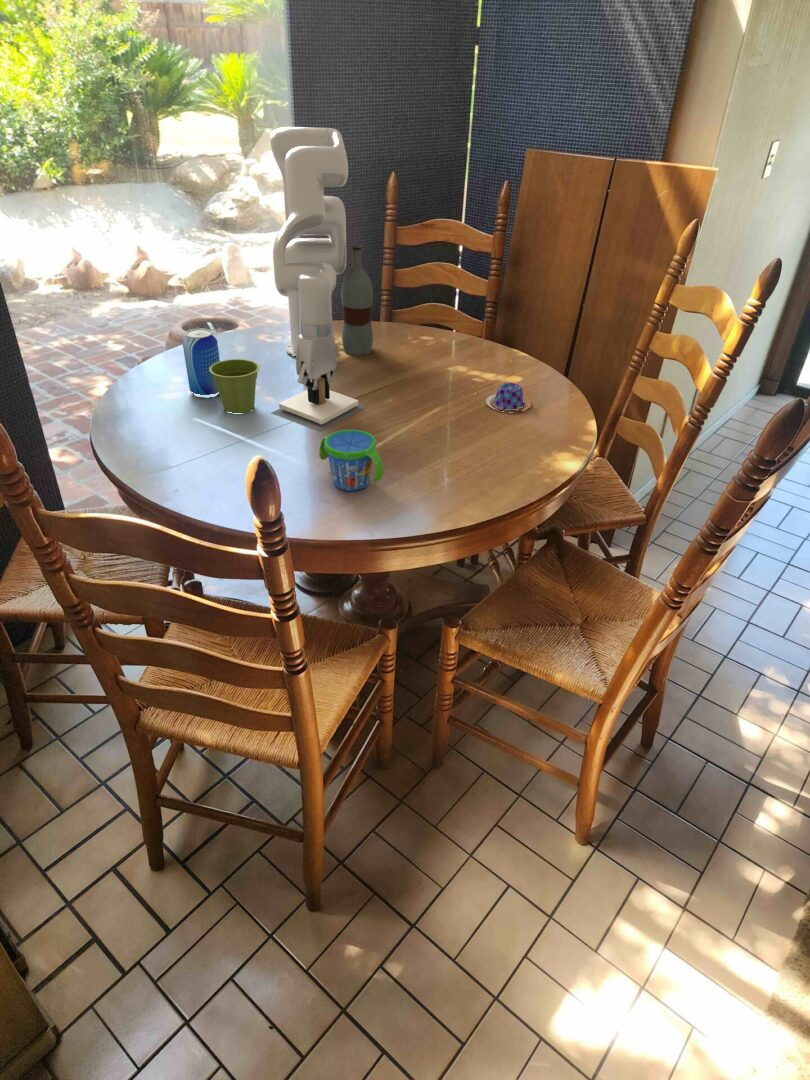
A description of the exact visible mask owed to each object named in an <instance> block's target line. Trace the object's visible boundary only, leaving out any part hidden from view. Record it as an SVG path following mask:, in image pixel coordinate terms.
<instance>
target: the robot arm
mask: <svg viewBox="0 0 810 1080" xmlns="http://www.w3.org/2000/svg"><path fill="white" fill-rule="evenodd" d="M269 139H270V140H269V141H270V148H271V152H272V155H273V158H274V159H275V162H276V164H277V166H278V168H279V171H280V173H281V176H282V183H283V196H284V199H283V200H284V214H285V215H284V216H285V223H284V224H283V225H282V226H281V228H280V229H279V231H278V232H277V235H276V237H275V239H274V242H273V243H274V244H273V248H272V260H273V274H274V275H273V276H274V284H275V288H276V291H277V293H278V294H280V295H281V296H283V297H286V298H288V299H287V300H288V311H289V312H288V313H289V314H288V315H289V328H290V329H289V330H290V331H289V332H290V343H289V344H287V346H285V351H286V350H287V352H288V353H289V354H291V355H294V356H296V357H295V363H296V364H295V368H296V369H295V370H296V375H297V376H298V378H297V383H298V384H300V385H303V386H304V387H305V388H306V389H307V390H308V401H309V402H311V403H314V404H316V405H318V404H319V389H317V377H323V378H324V379H325V399H329V398H330V390H331V389H330V383H331V382H332V376H333V374H334V372H335V370H336V369H337V368H338V364H337V348H336V347H337V346H336V340H335V334H334V330H333V321H334V320H333V309H332V305H333V304H332V294H333V292H334V289H336V287H337V275H341V274H343V273H344V272H345V270H346V267H347V222H346V221H347V218H346V217H347V216H346V209H345V208H346V207H345V204H344V202H343V200H342V199H341V198H340V197H337V196H334V195H333V196H332V195H325V194H324V193H325V192H324V188H341V187H344V186H345V185H346V183H347V182H348V176H349V164H348V157H347V151H346V148H345V143H344V139H343V136H342V133H341V132H340V131H339V130H338V129H336V128H331V127H306V126H305V127H304V126H284V127H278V128H275V129H274V130H273V131H272V132H271V133H270V138H269ZM298 236H328V237H327V238H326V237H322V238H321V237H320V238H319V237H317V238H315V237H302V238H301V237H298ZM297 237H298V238H297ZM287 352H286V353H287ZM288 353H287V354H288ZM289 354H288V355H289ZM291 355H290V356H291Z"/></svg>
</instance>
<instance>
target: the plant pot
mask: <svg viewBox="0 0 810 1080" xmlns="http://www.w3.org/2000/svg"><path fill="white" fill-rule="evenodd" d="M260 367H261V366H260V365H259V363H258V362H256V361H253V360H250V359H245V358H243V359H242V358H234V359H230V358H229V359H225V360H220V361H219V362H217V363H214V364H213V365H211V366H210V368H209V371H210V372H211V373H212V374H213V377H214V380H215V382H216V384H217V387H218V391H219V396H220V401H221V403H222V407H223V410H224V409H225V410H226V411H228V412H232V413H247V412H249V411H251V410H253V409H254V410H255V400H256V387H257V386H256V384H257V378H258V372H259V370H260ZM225 410H224V411H225ZM254 410H253V411H254ZM251 412H252V411H251ZM247 414H248V413H247Z"/></svg>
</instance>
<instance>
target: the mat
mask: <svg viewBox="0 0 810 1080" xmlns="http://www.w3.org/2000/svg"><path fill="white" fill-rule="evenodd" d="M367 407H368V406H366V405H363V404H360V403H359V405H357V406H355V407H354V408H352V409H350V410H348V411H346V412H344V413H342V414H341V415H339V416H337V417H335V418H333V419H331V420H330V421H328V422H326V423H324V424H319V423H317V422H314V421H312V420H309V419H306V418H304V417H301V416H299V415H296V414H294V413H291V412H288V411H286V410H283V409H281V408H278V409H276V410H274V411H272V412H271V415H272V414H273V415H275V416H278V417H280V418H283V419H285V420H287V421H290V422H294V423H296V424H298V425H301V426H303V427H306V428H309V429H311V430H315V431H316V432H323V431H324V430H325V429H328V428H330V427H332V426H333V425H335V424H337V423H339V422H341V421H343V420H344V419H346V418H347V419H348V417H350V416H352V415H354V414H356V413H358V412H359V411H362V410H364V409H366V408H367Z"/></svg>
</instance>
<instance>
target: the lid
mask: <svg viewBox="0 0 810 1080" xmlns="http://www.w3.org/2000/svg"><path fill="white" fill-rule="evenodd" d="M317 389H319V404H318V405H316V404H314V403H311V402H309V401H308V389H306V390H304V391H301V392H300V393H298V394H295V395H294V396H291V397H290V398H287V399H285V400H283V401H281V402H279V403H278V407H279V408H278V409H280V408H281V409H283V410H286V411H288V412H291V413H294V414H296V415H299V416H301V417H304V418H306V419H309V420H312V421H314V422H317V423H319V424H324V423H326V422H328V421H330V420H331V419H333V418H335V417H337V416H339V415H341V414H342V413H344V412H346V411H348V410H350V409H352V408H354V407H355V406H357V405H359V404H360V403H359V400H358V399H355V398H353V397H350V396H347V395H344V394H341V393H339V392H336V391H334V390H331V389H329V390H330V398H329V399H325V379H324V378H323V377H317Z"/></svg>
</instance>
